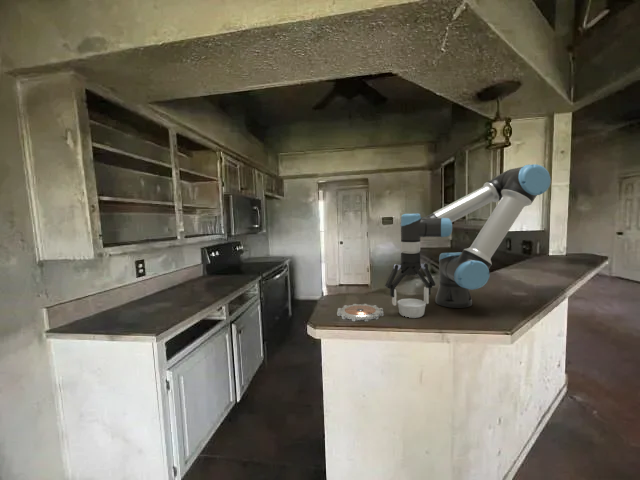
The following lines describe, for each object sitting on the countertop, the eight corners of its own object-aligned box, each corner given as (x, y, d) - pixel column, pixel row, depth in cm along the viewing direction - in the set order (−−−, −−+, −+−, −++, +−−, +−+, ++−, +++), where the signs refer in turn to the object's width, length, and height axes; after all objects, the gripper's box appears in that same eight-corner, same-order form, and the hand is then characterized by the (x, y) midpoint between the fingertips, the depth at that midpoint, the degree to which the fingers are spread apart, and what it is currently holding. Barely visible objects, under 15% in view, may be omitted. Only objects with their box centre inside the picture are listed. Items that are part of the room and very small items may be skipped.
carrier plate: (375, 305, 143) (375, 301, 143) (390, 319, 124) (390, 315, 124) (333, 308, 141) (333, 305, 141) (342, 323, 122) (341, 319, 122)
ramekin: (428, 319, 123) (427, 306, 122) (398, 319, 125) (398, 305, 124) (423, 310, 134) (423, 298, 133) (396, 310, 136) (396, 298, 135)
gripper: (435, 250, 132) (434, 299, 134) (377, 252, 129) (377, 302, 131) (444, 252, 125) (443, 304, 127) (383, 254, 122) (383, 308, 123)
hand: (410, 303), depth 129 cm, fingers open, 13 cm apart
